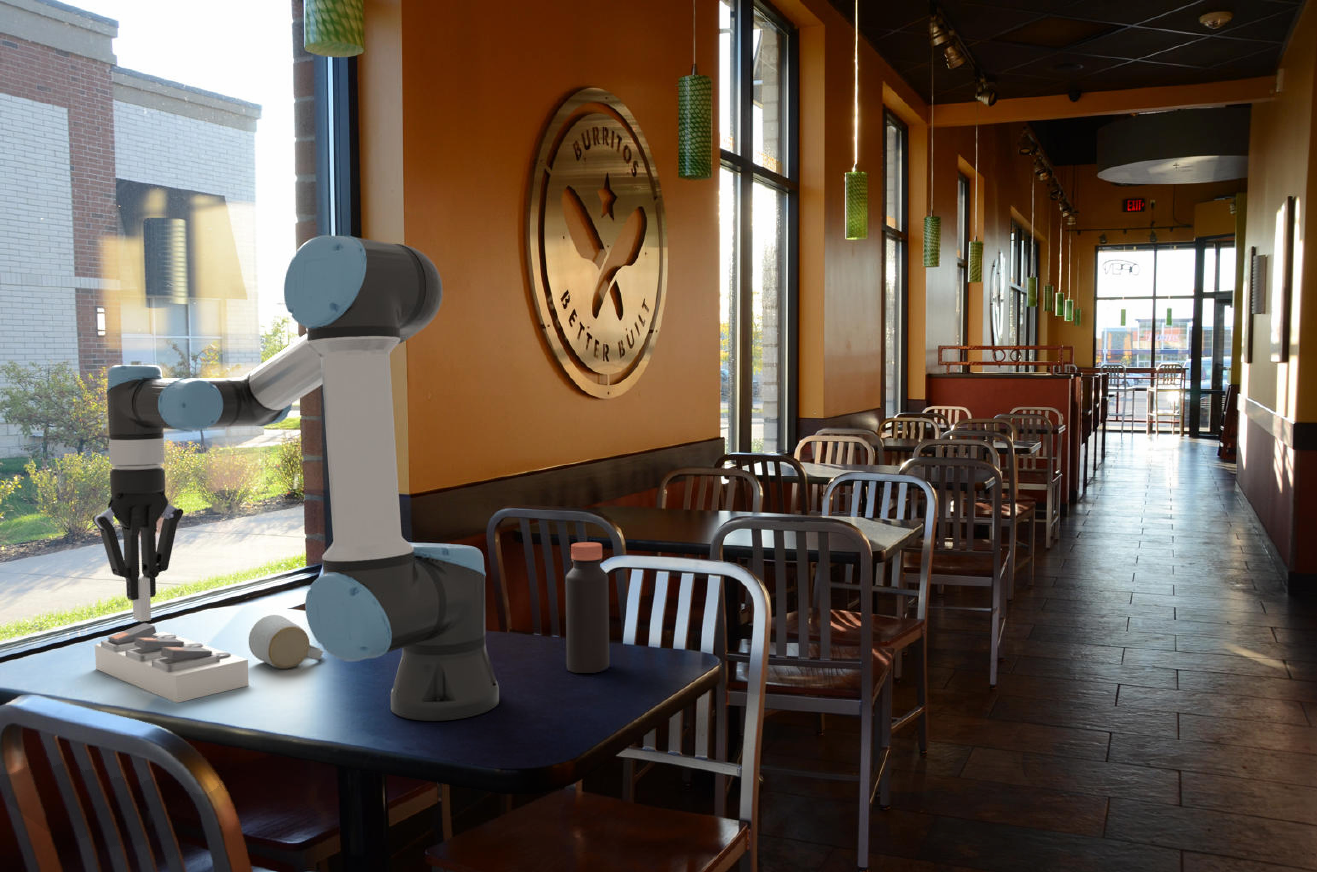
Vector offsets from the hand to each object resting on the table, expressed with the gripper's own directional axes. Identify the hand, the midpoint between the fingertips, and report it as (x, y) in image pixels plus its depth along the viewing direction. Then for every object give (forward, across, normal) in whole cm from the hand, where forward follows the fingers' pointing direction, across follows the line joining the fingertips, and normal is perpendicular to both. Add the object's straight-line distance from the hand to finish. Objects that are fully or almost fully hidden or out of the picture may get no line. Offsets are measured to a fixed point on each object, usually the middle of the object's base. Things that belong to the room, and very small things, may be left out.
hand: (142, 619), depth 162 cm
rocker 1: (+5, -2, -9) cm, 10 cm away
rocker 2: (+5, -2, +9) cm, 11 cm away
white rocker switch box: (+10, -4, 0) cm, 11 cm away
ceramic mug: (+10, -20, +7) cm, 24 cm away
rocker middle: (+5, -2, 0) cm, 5 cm away
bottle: (+10, -48, +48) cm, 69 cm away
